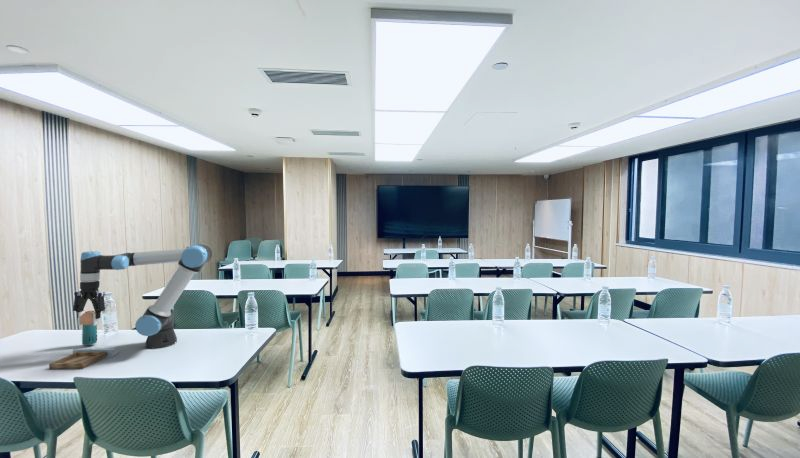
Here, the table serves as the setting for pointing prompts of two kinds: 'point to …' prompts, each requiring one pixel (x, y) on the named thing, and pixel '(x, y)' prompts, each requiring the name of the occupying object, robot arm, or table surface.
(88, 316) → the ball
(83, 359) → the walnut tray
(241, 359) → the table surface
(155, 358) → the table surface
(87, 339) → the beverage bottle
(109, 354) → the acrylic divider
